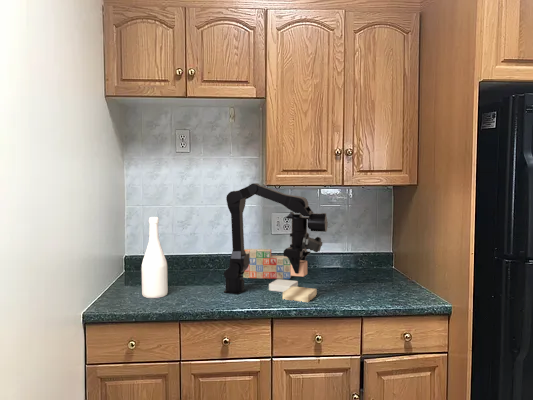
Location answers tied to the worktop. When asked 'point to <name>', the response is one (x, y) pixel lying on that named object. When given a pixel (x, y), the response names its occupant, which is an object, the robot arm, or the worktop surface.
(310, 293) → the birch slab
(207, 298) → the worktop surface
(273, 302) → the worktop surface
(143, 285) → the wine bottle
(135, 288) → the worktop surface
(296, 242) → the robot arm
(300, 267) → the terracotta cube
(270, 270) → the stack of blocks
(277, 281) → the white plastic slab
